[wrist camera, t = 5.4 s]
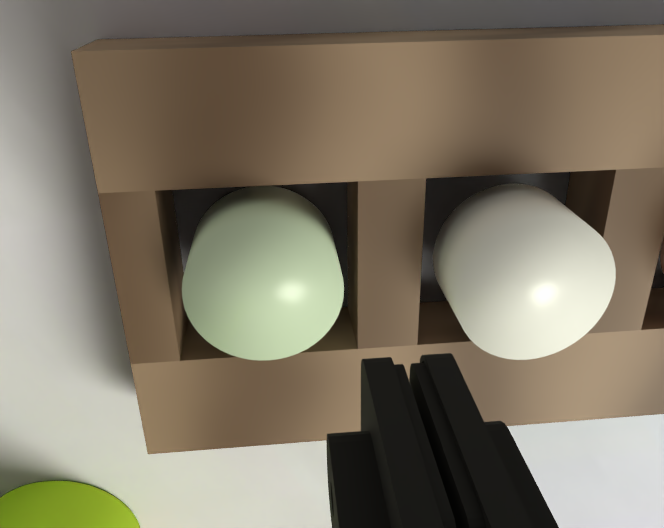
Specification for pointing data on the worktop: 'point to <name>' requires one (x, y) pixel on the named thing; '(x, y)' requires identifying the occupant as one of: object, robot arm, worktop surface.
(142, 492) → the worktop surface
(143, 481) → the worktop surface
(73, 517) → the soap dispenser
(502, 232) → the white dome
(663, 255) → the button terracotta
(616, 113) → the button panel
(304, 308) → the button sage
